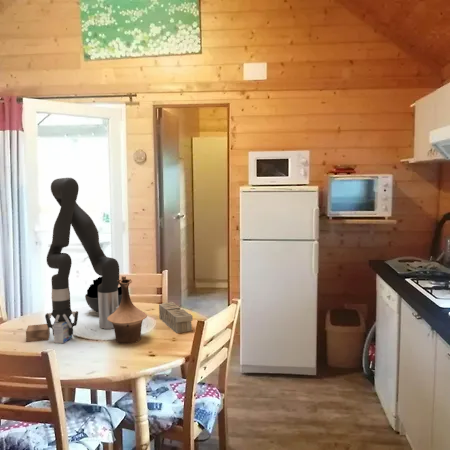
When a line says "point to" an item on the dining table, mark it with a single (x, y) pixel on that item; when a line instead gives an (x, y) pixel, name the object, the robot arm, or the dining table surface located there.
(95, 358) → the dining table surface
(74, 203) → the robot arm
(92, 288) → the bowl of black rocks
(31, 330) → the walnut block
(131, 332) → the brown clay vase
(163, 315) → the block tower
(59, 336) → the medicine box
